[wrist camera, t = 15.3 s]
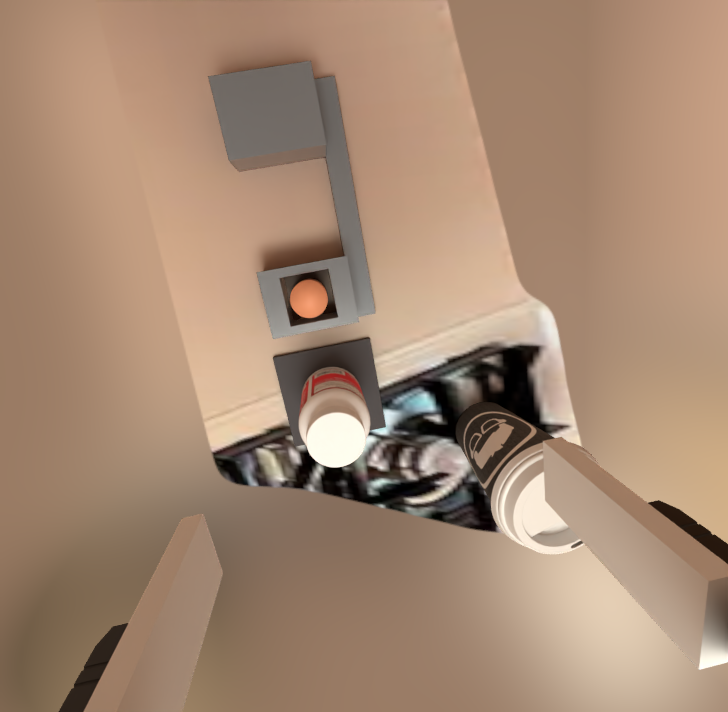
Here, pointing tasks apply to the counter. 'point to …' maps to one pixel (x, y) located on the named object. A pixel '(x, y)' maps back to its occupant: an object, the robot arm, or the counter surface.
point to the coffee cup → (514, 476)
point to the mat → (305, 363)
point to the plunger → (309, 298)
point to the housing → (288, 145)
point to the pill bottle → (333, 417)
